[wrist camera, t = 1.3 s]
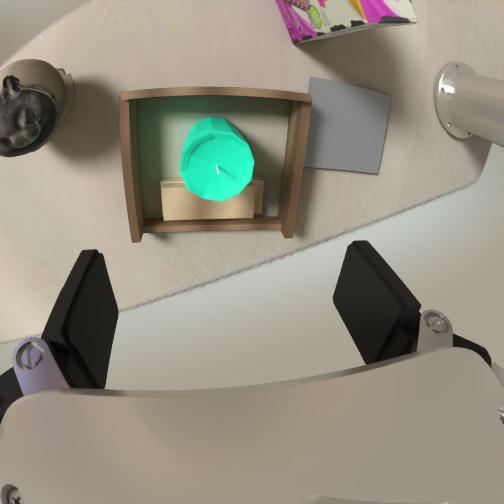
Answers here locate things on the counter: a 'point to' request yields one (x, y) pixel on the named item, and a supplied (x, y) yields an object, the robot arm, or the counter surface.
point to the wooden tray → (284, 221)
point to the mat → (346, 126)
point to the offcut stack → (209, 202)
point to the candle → (216, 160)
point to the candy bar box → (342, 16)
